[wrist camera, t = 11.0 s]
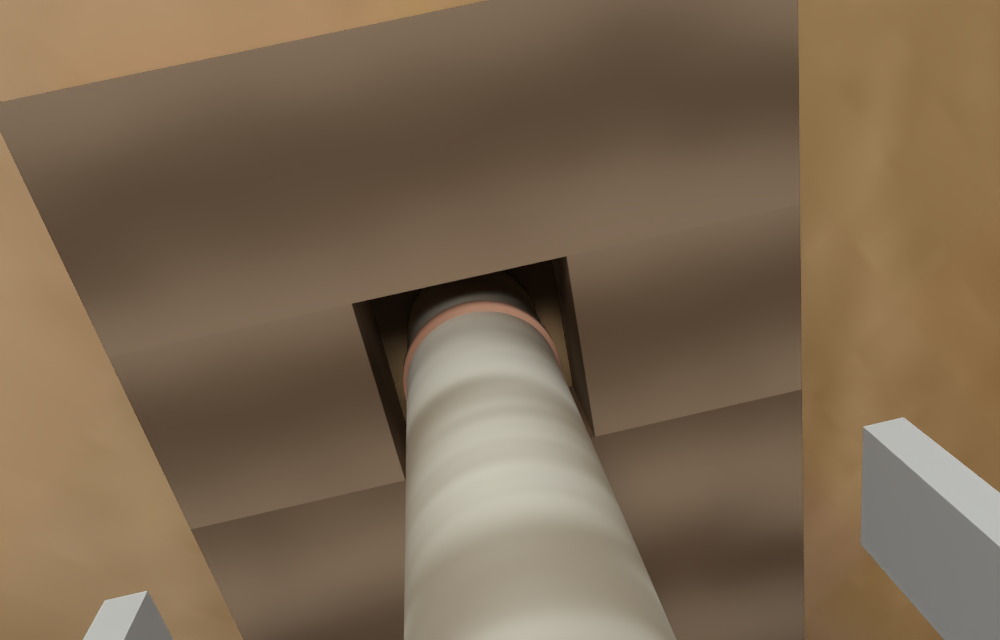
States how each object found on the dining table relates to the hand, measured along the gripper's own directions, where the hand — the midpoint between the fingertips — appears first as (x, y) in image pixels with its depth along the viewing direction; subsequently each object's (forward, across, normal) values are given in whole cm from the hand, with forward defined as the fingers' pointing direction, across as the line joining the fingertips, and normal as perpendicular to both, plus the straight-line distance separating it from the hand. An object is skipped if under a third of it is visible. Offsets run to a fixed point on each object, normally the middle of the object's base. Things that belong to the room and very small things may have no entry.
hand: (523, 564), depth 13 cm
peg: (+10, 0, -1) cm, 10 cm away
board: (+10, 0, +2) cm, 10 cm away
